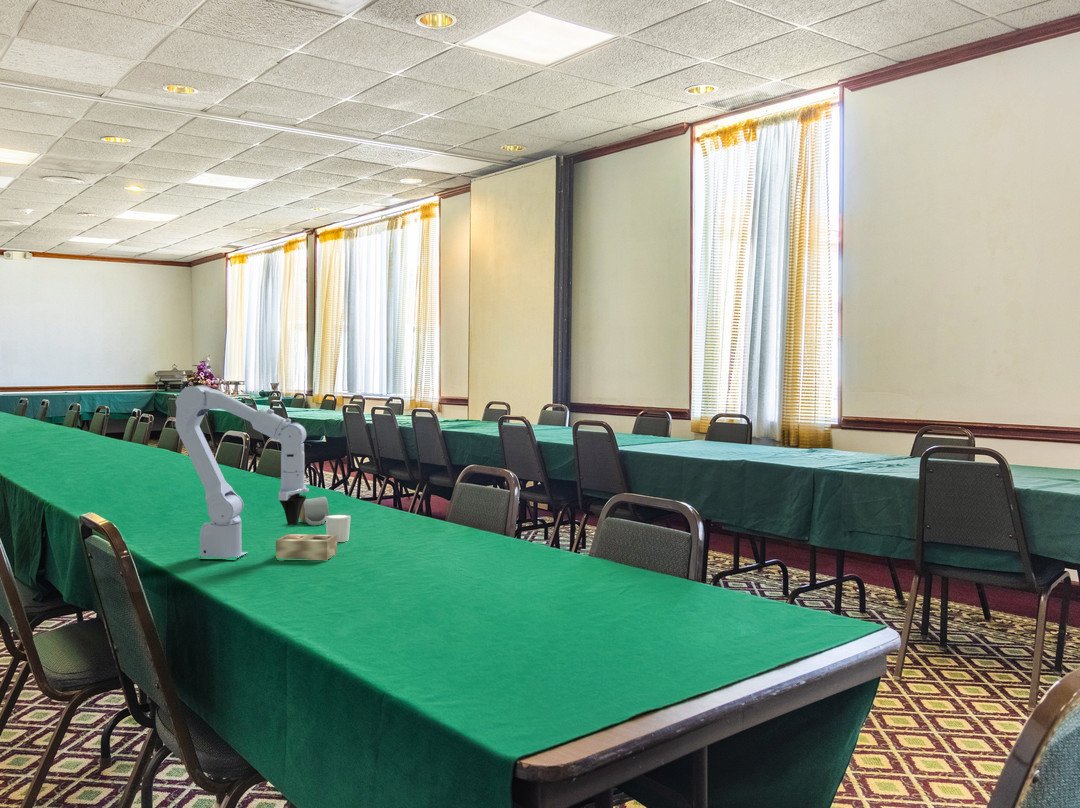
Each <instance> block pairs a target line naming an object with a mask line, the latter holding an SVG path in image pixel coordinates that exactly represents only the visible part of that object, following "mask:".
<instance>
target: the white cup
mask: <svg viewBox="0 0 1080 808" xmlns="http://www.w3.org/2000/svg"><path fill="white" fill-rule="evenodd" d="M351 518H352V517H351V515H349V514H339V513H338V514H331V515H330V514H329V516H326V517H325V520H326V522H325V529H326V535H337V542H345V541H348V540H349V539H350V538H349V537H350V529H351V528H350V526H351ZM349 541H350V540H349ZM349 541H348V542H349ZM345 543H346V542H345Z"/></svg>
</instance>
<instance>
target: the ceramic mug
mask: <svg viewBox="0 0 1080 808" xmlns="http://www.w3.org/2000/svg"><path fill="white" fill-rule="evenodd" d="M329 513H330V511H329V503H328V499H327V497H326V496H320V497H313V498H306V499H305V501H304V503H303V505H302V508H301V512H300V516H299V520H300V522H301V523H304V524H308V525H310V526H313V525H319V526H322V525H323V524H326V522H325V521H326V520H325V517H326V516H329V515H330V514H329ZM321 524H322V525H321Z"/></svg>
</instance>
